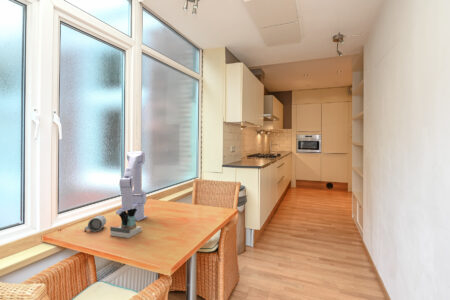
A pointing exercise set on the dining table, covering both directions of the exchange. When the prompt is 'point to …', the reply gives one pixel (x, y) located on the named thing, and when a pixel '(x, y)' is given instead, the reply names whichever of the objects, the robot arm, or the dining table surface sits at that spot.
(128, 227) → the teal rectangular block
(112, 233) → the dock
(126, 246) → the dining table surface
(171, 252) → the dining table surface
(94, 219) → the ceramic mug
